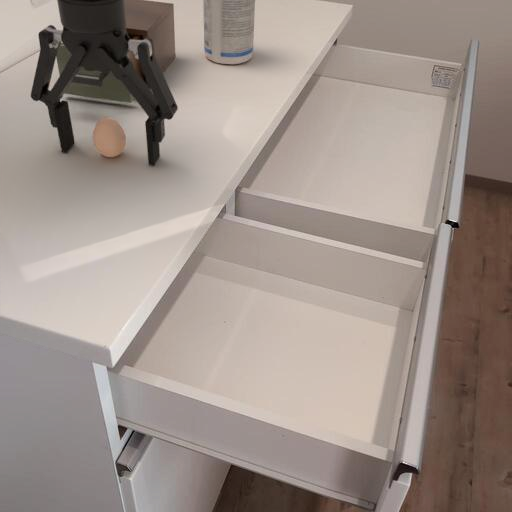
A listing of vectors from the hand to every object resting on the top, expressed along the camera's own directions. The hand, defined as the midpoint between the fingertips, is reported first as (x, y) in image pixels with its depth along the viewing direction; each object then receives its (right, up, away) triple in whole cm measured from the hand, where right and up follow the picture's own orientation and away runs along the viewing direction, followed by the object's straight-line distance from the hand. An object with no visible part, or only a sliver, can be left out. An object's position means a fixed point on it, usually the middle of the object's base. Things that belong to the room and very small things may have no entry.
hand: (111, 154), depth 77 cm
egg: (0, 0, 0) cm, 0 cm away
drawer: (-5, +14, +14) cm, 20 cm away
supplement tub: (+15, +25, +30) cm, 42 cm away
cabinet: (-3, +20, +23) cm, 31 cm away
